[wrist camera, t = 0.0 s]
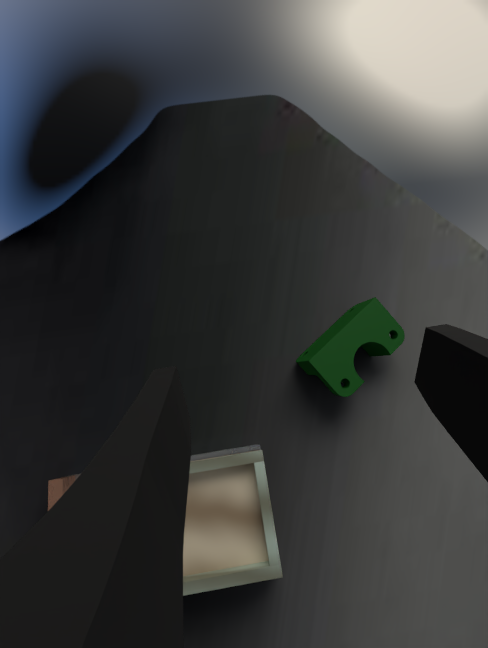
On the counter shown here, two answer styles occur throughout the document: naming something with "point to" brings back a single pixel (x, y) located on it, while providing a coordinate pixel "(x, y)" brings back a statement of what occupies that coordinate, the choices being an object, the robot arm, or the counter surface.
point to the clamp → (351, 345)
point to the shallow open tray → (228, 524)
